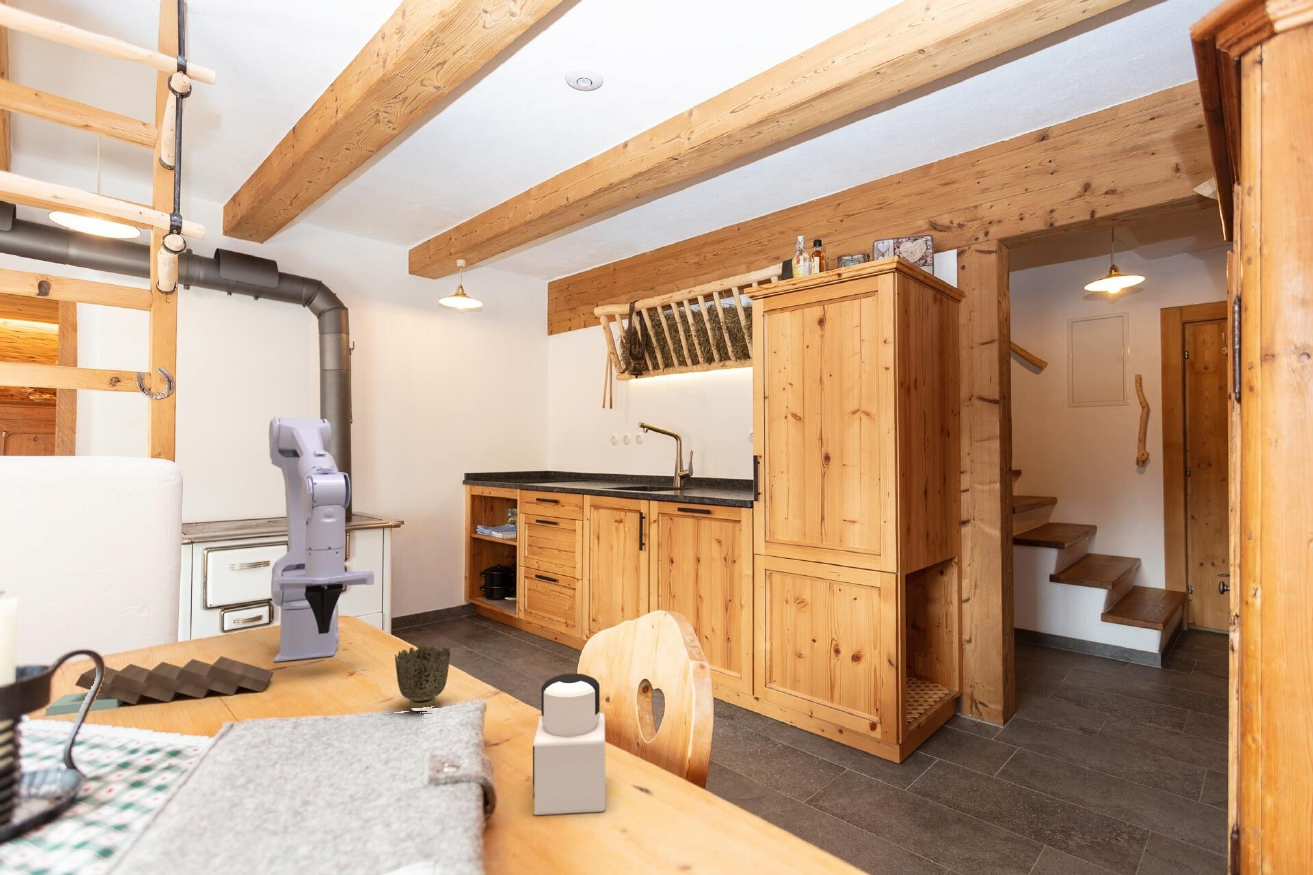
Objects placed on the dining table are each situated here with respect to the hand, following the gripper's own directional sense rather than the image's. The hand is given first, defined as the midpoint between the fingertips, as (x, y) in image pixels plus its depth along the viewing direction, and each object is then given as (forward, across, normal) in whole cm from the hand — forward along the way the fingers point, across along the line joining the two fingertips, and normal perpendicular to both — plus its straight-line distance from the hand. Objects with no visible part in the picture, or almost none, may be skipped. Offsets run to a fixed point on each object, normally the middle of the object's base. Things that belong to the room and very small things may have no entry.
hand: (324, 632), depth 103 cm
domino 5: (+7, -12, -1) cm, 13 cm away
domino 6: (+7, -8, -1) cm, 10 cm away
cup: (+8, +15, -19) cm, 26 cm away
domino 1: (+7, -26, 0) cm, 27 cm away
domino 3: (+7, -19, 0) cm, 21 cm away
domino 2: (+7, -24, 0) cm, 24 cm away
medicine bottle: (+7, +29, -50) cm, 59 cm away
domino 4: (+7, -15, 0) cm, 17 cm away
